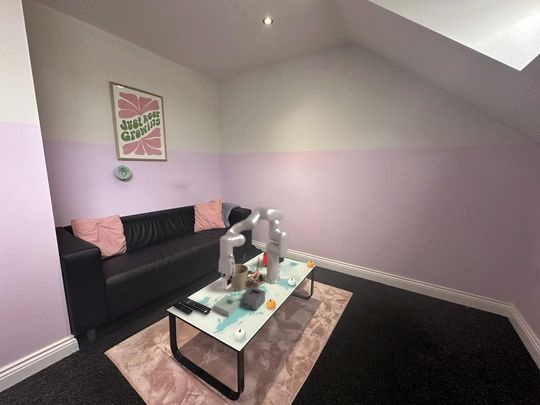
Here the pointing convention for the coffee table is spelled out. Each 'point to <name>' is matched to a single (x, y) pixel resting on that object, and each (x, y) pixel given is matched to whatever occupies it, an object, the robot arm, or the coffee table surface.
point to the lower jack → (227, 305)
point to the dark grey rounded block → (253, 298)
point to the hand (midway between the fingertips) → (226, 283)
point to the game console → (266, 259)
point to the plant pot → (239, 277)
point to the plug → (225, 282)
